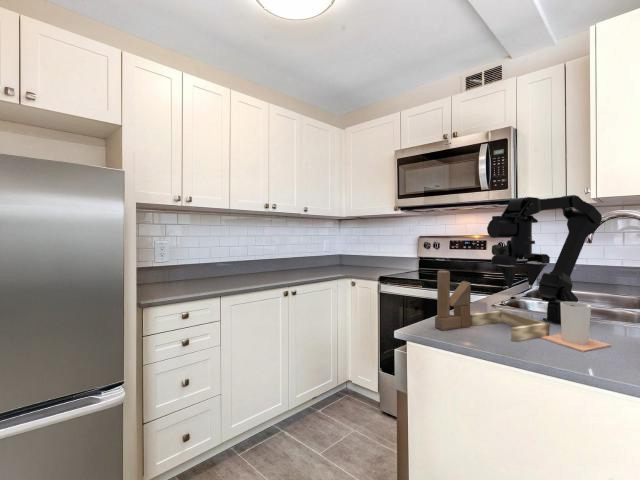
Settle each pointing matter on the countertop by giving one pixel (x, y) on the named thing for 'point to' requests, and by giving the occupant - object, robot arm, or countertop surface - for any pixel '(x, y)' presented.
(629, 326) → the countertop surface
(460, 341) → the countertop surface
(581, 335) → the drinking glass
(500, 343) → the countertop surface
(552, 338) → the terracotta mat
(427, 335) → the countertop surface
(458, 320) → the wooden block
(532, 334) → the beige angled bar
